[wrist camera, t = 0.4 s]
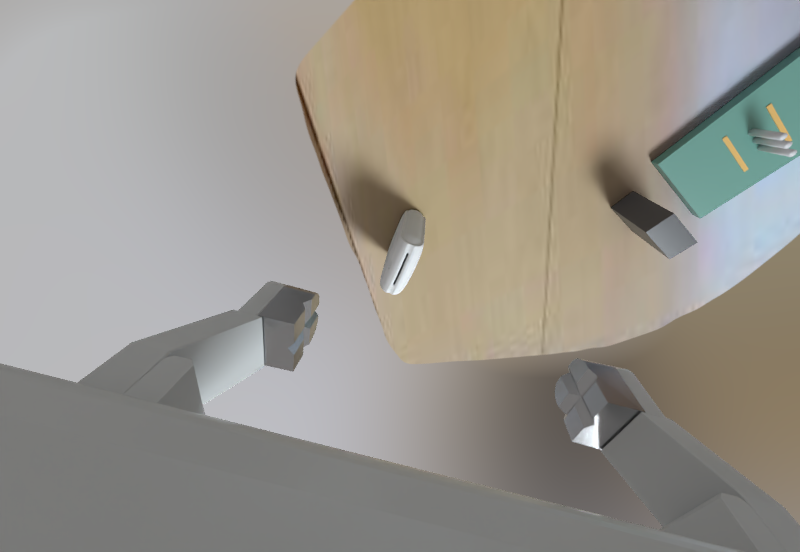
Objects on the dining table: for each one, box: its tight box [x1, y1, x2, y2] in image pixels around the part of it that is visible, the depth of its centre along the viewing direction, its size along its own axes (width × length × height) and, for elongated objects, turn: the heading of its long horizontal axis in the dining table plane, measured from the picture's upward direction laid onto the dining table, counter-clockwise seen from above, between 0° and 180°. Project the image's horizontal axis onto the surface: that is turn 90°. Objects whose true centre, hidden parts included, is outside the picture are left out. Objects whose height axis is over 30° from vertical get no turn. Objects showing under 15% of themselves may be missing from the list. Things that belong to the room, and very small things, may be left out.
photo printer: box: [380, 210, 426, 295], centre depth 46 cm, size 10×4×12 cm, turn 159°
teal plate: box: [652, 47, 800, 218], centre depth 36 cm, size 12×18×6 cm, turn 141°
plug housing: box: [611, 191, 697, 259], centre depth 41 cm, size 6×3×9 cm, turn 51°
